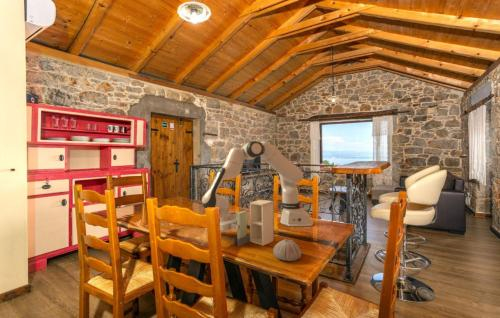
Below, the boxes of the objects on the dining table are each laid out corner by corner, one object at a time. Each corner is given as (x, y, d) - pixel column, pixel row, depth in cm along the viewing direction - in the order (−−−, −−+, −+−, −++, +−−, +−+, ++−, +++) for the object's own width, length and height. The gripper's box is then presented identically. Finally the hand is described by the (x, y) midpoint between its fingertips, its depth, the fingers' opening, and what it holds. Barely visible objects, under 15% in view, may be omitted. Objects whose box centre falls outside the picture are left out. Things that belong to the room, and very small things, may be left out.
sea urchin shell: (284, 249, 129) (284, 233, 129) (307, 256, 120) (307, 240, 119) (267, 257, 119) (267, 240, 119) (291, 266, 110) (291, 248, 110)
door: (236, 241, 138) (235, 212, 137) (243, 238, 142) (243, 210, 142) (239, 242, 136) (239, 213, 135) (247, 239, 140) (247, 211, 140)
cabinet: (232, 244, 136) (232, 203, 135) (255, 235, 150) (254, 198, 149) (252, 250, 127) (251, 207, 126) (274, 240, 141) (273, 201, 141)
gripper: (211, 219, 138) (229, 224, 129) (237, 212, 154) (254, 215, 145) (211, 230, 139) (229, 236, 130) (237, 222, 154) (255, 226, 145)
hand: (243, 225), depth 137 cm, fingers closed on door, 5 cm apart
